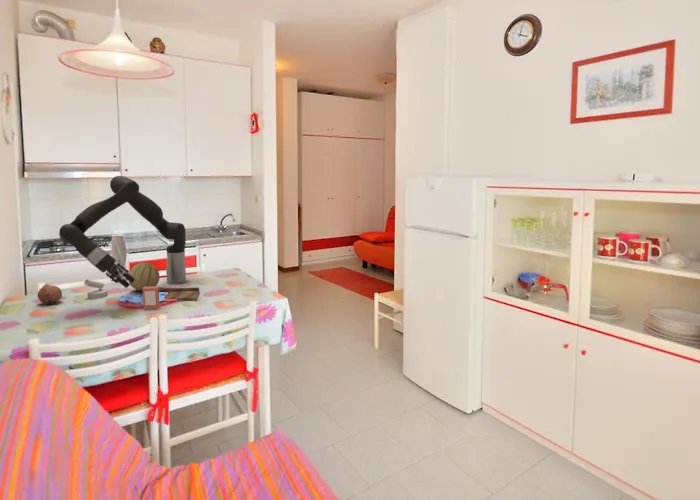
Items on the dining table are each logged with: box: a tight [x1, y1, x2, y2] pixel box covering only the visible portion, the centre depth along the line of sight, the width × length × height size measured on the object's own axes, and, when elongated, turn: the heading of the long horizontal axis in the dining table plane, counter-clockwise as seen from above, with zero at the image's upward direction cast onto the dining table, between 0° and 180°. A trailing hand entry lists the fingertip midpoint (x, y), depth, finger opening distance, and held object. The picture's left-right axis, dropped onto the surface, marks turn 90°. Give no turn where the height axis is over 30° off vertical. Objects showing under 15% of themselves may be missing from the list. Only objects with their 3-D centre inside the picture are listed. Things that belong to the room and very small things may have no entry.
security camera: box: [84, 278, 109, 300], centre depth 219 cm, size 9×10×10 cm
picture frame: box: [142, 285, 160, 310], centre depth 203 cm, size 6×3×10 cm, turn 102°
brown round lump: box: [37, 283, 63, 305], centre depth 207 cm, size 10×9×10 cm
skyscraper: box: [110, 230, 128, 282], centre depth 248 cm, size 8×8×28 cm
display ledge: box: [158, 286, 200, 302], centre depth 220 cm, size 20×13×3 cm, turn 102°
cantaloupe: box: [128, 261, 160, 292], centre depth 230 cm, size 15×15×15 cm
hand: (131, 283), depth 200 cm, fingers open, 8 cm apart
